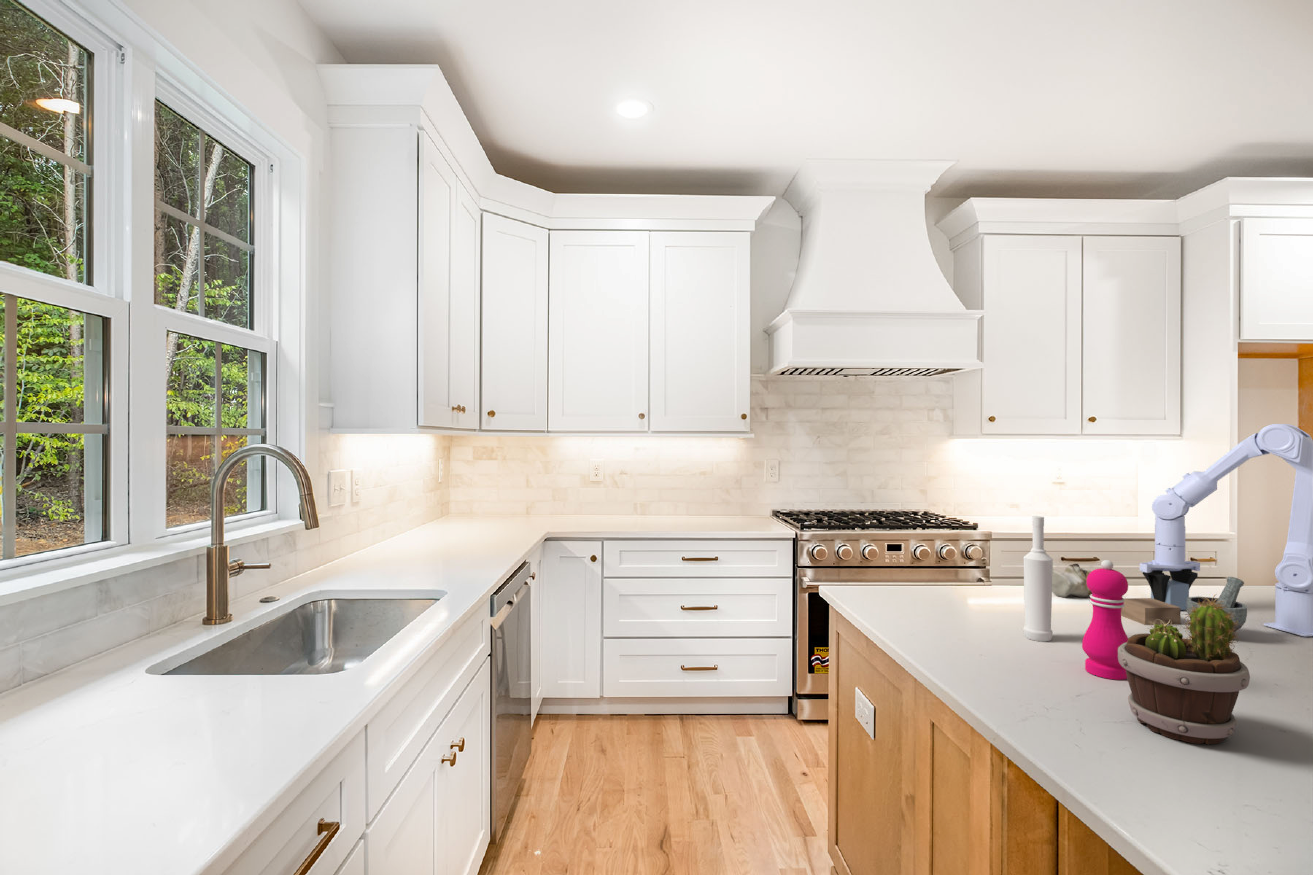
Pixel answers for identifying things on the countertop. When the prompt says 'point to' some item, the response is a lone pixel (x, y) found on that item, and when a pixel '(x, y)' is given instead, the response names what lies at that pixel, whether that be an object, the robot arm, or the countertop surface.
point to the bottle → (1038, 587)
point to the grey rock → (1070, 582)
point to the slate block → (1176, 594)
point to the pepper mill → (1105, 622)
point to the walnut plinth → (1150, 611)
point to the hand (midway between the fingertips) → (1169, 601)
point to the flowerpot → (1186, 676)
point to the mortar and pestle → (1226, 602)
